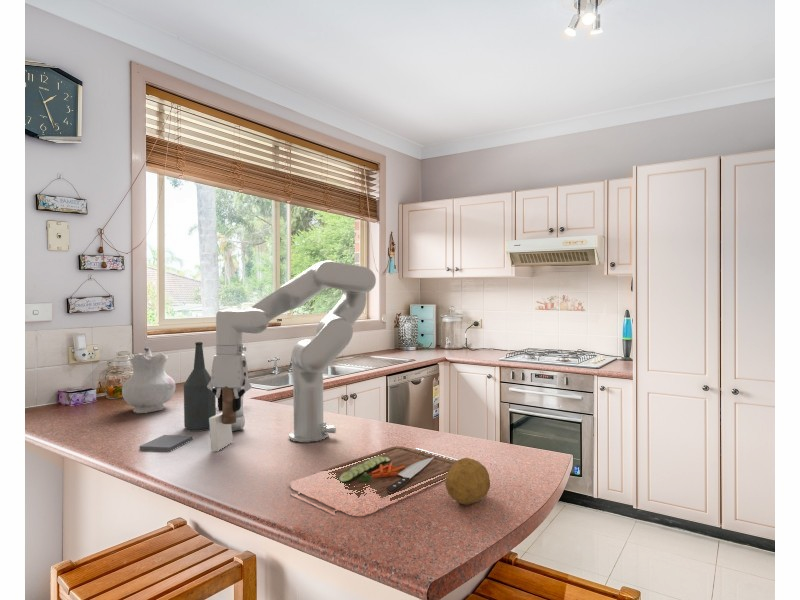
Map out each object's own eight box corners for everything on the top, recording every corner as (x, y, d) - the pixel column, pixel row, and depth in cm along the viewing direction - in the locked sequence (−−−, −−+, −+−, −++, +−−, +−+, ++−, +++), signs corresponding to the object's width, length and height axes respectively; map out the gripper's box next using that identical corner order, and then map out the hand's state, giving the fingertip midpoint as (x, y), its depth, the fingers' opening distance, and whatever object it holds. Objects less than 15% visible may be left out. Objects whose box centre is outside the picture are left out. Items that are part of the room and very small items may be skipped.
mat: (192, 439, 161) (192, 435, 161) (170, 451, 150) (170, 447, 150) (164, 438, 163) (164, 434, 163) (139, 450, 151) (139, 446, 151)
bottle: (199, 422, 183) (198, 340, 182) (221, 424, 179) (220, 340, 179) (178, 430, 173) (176, 343, 172) (201, 432, 170) (199, 343, 169)
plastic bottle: (220, 431, 171) (219, 372, 170) (235, 426, 177) (234, 370, 176) (234, 433, 168) (233, 374, 167) (249, 428, 174) (248, 371, 173)
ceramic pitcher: (117, 411, 206) (110, 351, 204) (166, 400, 219) (161, 343, 217) (131, 421, 190) (125, 356, 188) (184, 408, 203) (178, 347, 201)
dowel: (238, 421, 154) (238, 375, 154) (232, 424, 150) (232, 377, 150) (226, 420, 155) (226, 375, 155) (219, 423, 151) (219, 377, 151)
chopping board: (403, 447, 153) (403, 437, 153) (476, 467, 135) (476, 456, 135) (276, 491, 121) (276, 478, 120) (350, 526, 102) (350, 511, 102)
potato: (501, 455, 115) (464, 445, 120) (476, 477, 104) (436, 464, 109) (498, 495, 116) (462, 483, 121) (473, 520, 105) (434, 505, 110)
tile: (232, 442, 158) (230, 410, 158) (218, 451, 149) (215, 417, 149) (225, 442, 158) (223, 411, 158) (210, 451, 149) (208, 418, 149)
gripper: (260, 349, 155) (260, 408, 155) (209, 348, 157) (209, 406, 158) (249, 352, 148) (250, 414, 148) (196, 351, 150) (197, 412, 150)
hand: (229, 409), depth 153 cm, fingers closed on dowel, 4 cm apart
